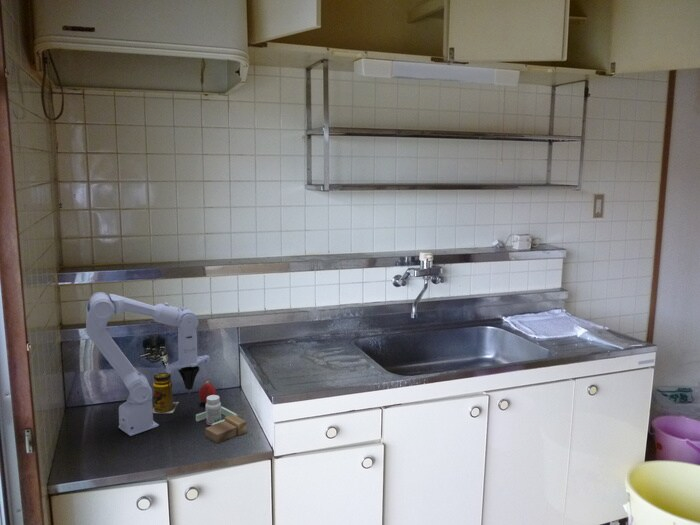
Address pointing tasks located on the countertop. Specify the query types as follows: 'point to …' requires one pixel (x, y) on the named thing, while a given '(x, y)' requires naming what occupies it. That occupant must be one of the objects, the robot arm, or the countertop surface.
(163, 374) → the condiment
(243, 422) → the block
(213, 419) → the pill bottle
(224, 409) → the corral
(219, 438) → the tan cardboard block
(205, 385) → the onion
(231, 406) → the countertop surface
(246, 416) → the countertop surface
